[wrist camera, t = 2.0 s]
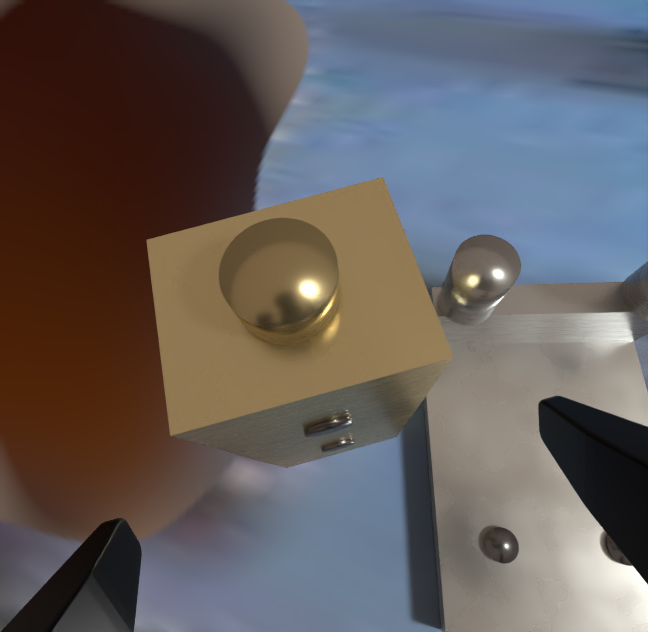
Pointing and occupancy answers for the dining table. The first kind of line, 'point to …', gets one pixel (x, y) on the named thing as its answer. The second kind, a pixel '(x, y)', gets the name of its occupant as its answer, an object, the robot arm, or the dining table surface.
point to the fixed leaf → (527, 446)
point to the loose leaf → (295, 327)
